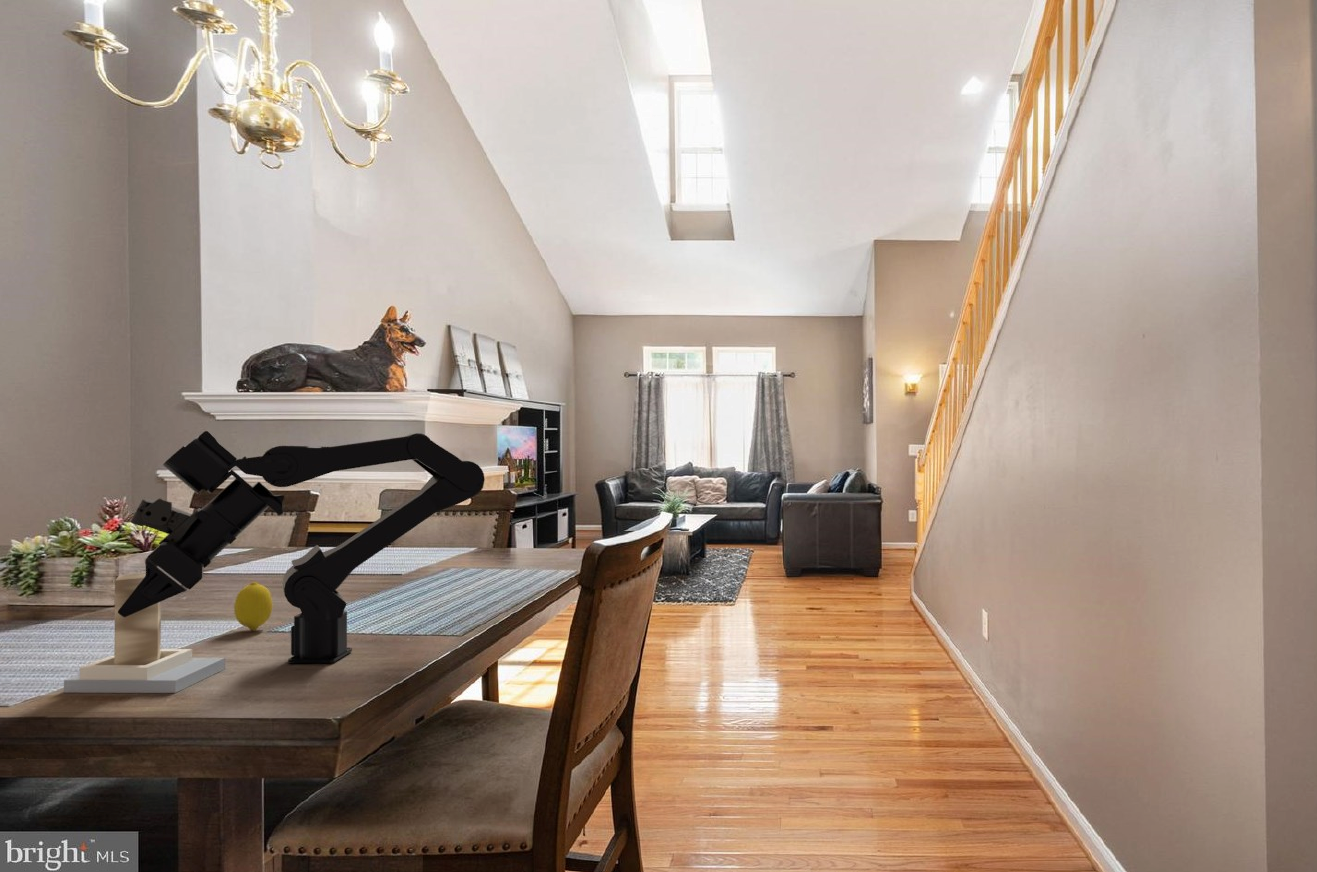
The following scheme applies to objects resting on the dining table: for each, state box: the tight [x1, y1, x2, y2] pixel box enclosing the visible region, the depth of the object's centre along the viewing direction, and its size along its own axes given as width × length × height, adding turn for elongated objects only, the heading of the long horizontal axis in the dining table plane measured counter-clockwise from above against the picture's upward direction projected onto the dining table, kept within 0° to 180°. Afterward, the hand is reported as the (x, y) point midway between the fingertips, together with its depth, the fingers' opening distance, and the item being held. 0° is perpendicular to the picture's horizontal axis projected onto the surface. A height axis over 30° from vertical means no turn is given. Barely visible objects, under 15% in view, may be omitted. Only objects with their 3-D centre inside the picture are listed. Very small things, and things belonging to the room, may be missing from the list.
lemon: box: [233, 581, 274, 631], centre depth 123 cm, size 6×6×8 cm
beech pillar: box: [113, 572, 162, 665], centre depth 96 cm, size 4×4×12 cm
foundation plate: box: [63, 648, 226, 694], centre depth 97 cm, size 14×10×3 cm
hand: (125, 607), depth 96 cm, fingers open, 9 cm apart
